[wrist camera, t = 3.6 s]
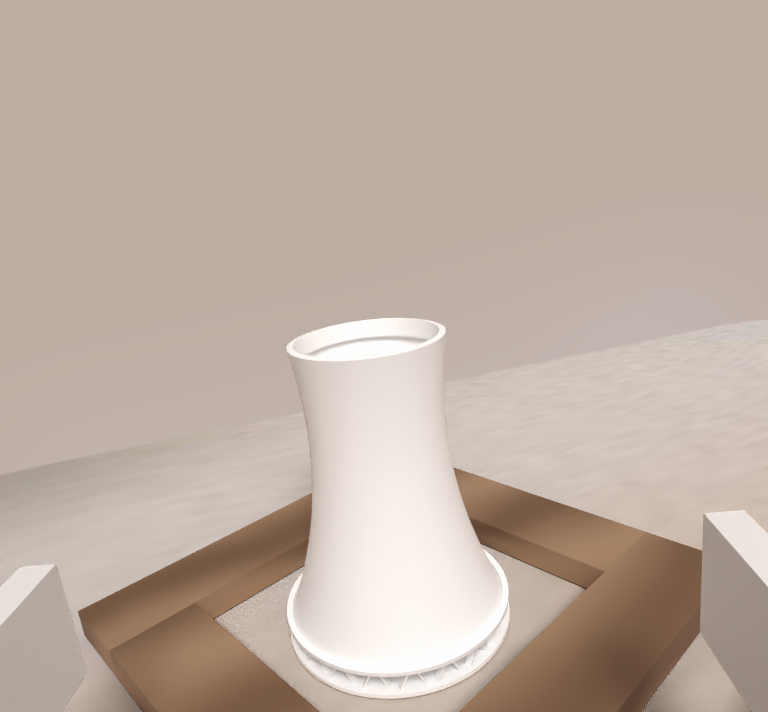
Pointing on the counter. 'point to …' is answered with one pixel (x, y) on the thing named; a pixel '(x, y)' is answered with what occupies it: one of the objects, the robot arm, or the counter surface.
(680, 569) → the holder frame
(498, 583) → the vase
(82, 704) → the counter surface
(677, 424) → the counter surface
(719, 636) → the robot arm
